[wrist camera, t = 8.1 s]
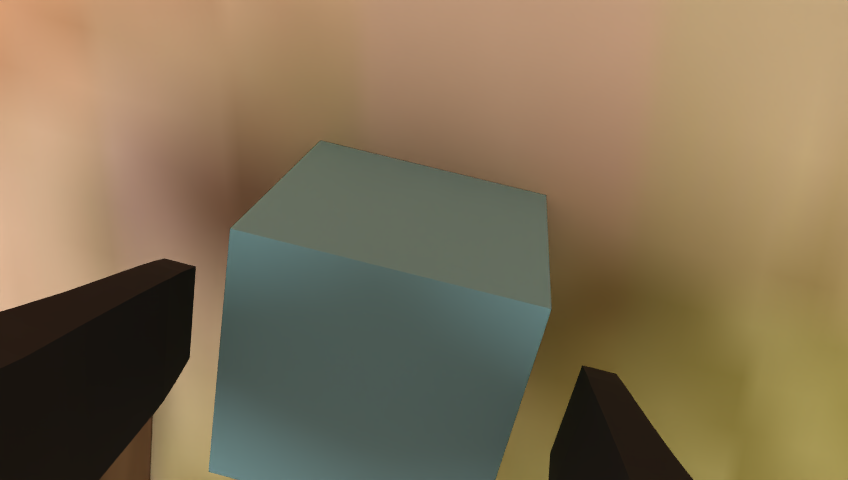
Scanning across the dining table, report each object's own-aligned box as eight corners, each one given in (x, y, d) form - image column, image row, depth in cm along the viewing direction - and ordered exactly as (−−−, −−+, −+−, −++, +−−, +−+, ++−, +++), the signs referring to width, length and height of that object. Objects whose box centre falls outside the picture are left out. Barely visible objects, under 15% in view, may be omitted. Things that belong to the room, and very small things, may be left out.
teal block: (546, 193, 15) (551, 308, 10) (490, 379, 17) (474, 542, 12) (321, 139, 15) (229, 228, 10) (294, 329, 17) (208, 471, 13)
